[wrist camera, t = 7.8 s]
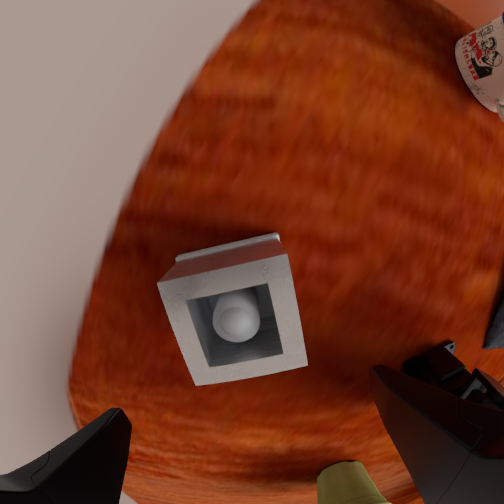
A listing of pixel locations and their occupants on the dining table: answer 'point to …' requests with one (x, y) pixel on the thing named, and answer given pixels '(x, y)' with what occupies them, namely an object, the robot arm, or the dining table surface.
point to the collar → (200, 312)
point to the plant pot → (347, 485)
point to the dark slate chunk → (496, 330)
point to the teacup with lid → (484, 64)
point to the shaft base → (262, 288)
